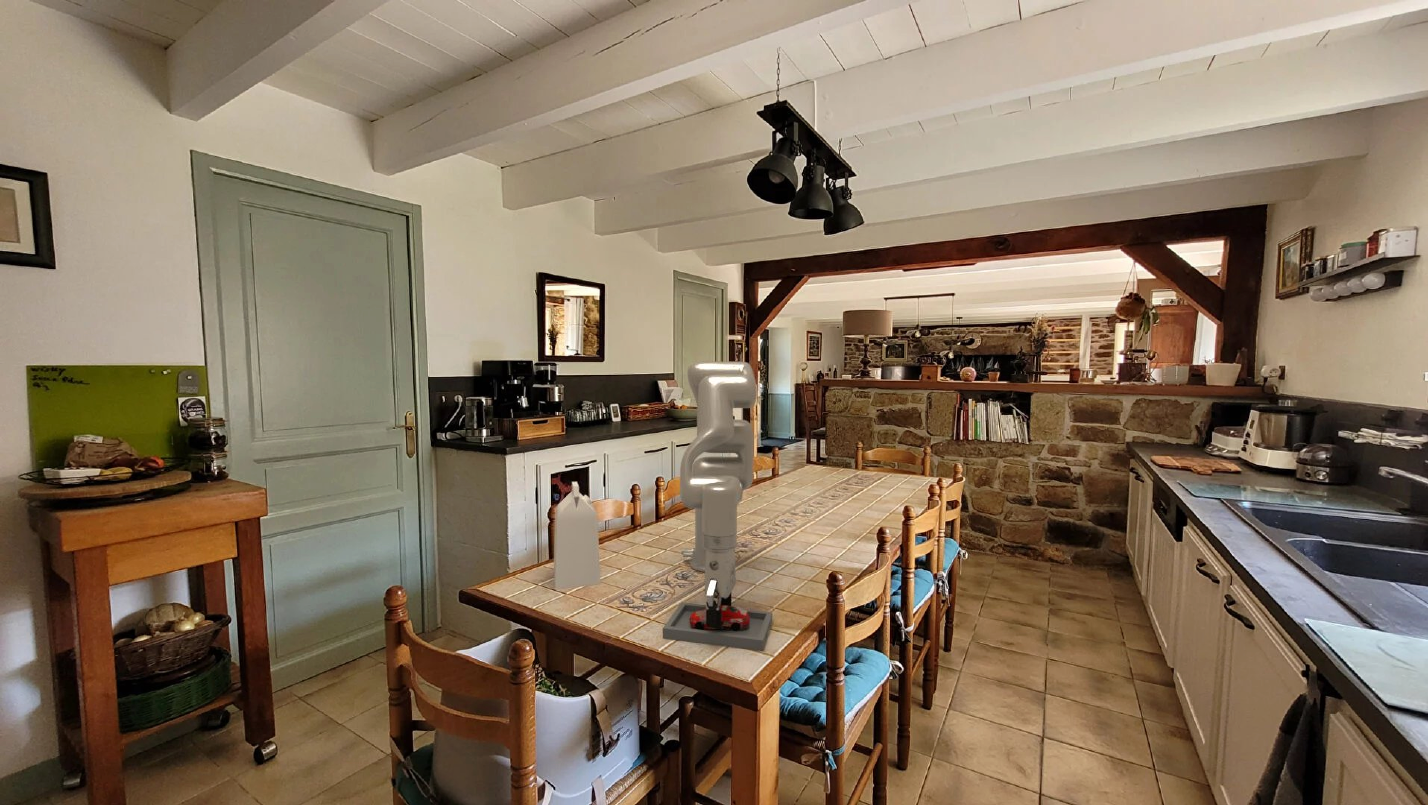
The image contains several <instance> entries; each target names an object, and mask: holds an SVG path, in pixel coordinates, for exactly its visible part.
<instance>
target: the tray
mask: <svg viewBox="0 0 1428 805" xmlns="http://www.w3.org/2000/svg"><path fill="white" fill-rule="evenodd" d="M744 609H745V610H747V612H748V615H749V617H750V623H749V626H748V627H747V628H744V629H741V627H740V629H739V630H738V631H734V630H732V628H731V629H705V626H704V628H703V630H697V629H696V627H695V628H694V627H692V626H691V625H690V622H689V619H690V616H691V614H693V613H694V612H696V611H699V610H706V604H703V603H702V604H701V603H694V602H693V603H691V602H684V601H683V602H682V601H681V603H680V604H679V605H678V607H677V608H676V609H675V611H674V612H673V613H672V615H671V616H670V617H669V619H668V620H667V621H666V623H665V624H664V626H663V627H662V639H665V640H672V641H673V640H674V641H680V642H681V641H683V642H691V643H695V644H696V643H697V644H698V643H699V644H705V645H713V646H723V647H727V648H728V647H729V648H737V649H745V650H752V651H759V652H763V651H764V649H765V646H766V642H767V640H768V636H769V634H770V630H771V627H772V625H773V611H764V610H757V609H746V608H744Z"/></svg>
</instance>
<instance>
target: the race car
mask: <svg viewBox="0 0 1428 805" xmlns="http://www.w3.org/2000/svg"><path fill="white" fill-rule="evenodd" d="M720 609H722V626H721V628H711V627H707V626H706V610H699V611H696V612H694V613H693V614H691V616H690V619H689V622H690V625H691V626H692V627H694V628H695V627H696V629H697V630H703V628H704V626H705V629H731V628H732V630H734V631H738V630H739V629H740V627H741V629H744V628H747V627H748V626H749V623H750V617H749V615H748V612H747V610H745V609H746V608H740V607H738V606H734V605H732V606H727V605H720Z"/></svg>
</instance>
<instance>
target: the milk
mask: <svg viewBox="0 0 1428 805" xmlns="http://www.w3.org/2000/svg"><path fill="white" fill-rule="evenodd" d="M598 519H599V518H598V512H597V509H596V507H595V505H594V504H593V500H592V499H591V498H590V497H589V496H588V495H587V494H584V495H583V494H582V493H581V492H580V486H579V484H578V481H571V492H570V493H568V494H567V495H566V497H564V498H563V499H562V500H561V501H560V502H559V503H558V504H557V505H556V507H555V511H554V542H553V543H554V546H553V548H554V549H553V551H554V552H553V580H554V589H555V591H557V590H564V589H572V588H582V587H590V586H599V585H601V571H600V570H601V568H600V567H601V565H600V564H601V562H600V542H599V521H598Z"/></svg>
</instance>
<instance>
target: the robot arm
mask: <svg viewBox="0 0 1428 805" xmlns="http://www.w3.org/2000/svg"><path fill="white" fill-rule="evenodd" d="M687 379H688V384H689V387H690V389H691V390H690V391H691V393H692V394H693V397H694V399H695V403H696V437H695V438H694V439H693V440H692V441H691V442H690V443H689V445H688V446H687V448H686V449H685V451H684V453H683V456H682V457H681V462H680V469H679V470H680V471H679V472H680V473H679V474H680V475H679V483H680V484H679V494H680V496H679V497H680V501H681V503H682V505H683V506H684V507H685V508H687V509H693V510H694V511H695V512H694V517H695V518H694V524H695V525H694V531H695V532H694V536H695V537H694V538H695V540H694V542H695V543H694V544H695V546H694V547H693V548H686V547H682V549H681V555H682V556H683V558H690V560H689V566H690V568H691V569H694V570H695V571H697V572H701V573H702V572H703V573H704V593H705V596H706V602H705V605H706V626H707V627H711V628H721V626H722V609H720V605H727V606H733V605H732V604H733V603H732V598H733V597H732V592H733V589H734V588H735V585H736V581H737V578H736V576H737V572H736V554H735V552H736V549H737V548H738V544H737V543H738V536H737V535H738V506H739V504H740V502H741V501H742V499H743V494H744V490H747V489H749V488H750V487H751V486H752V484H753V481H754V430H753V427H752V425H751V423H750V422H749V421H748V420H745V419H734V409H750V408H753V407H754V406H755V404H756V402H757V398H758V397H757V393H758V391H757V390H758V389H757V381H756V378H755V375H754V371H753V368H752V366H751V364H749V362H746V361H719V360H717V361H715V360H711V361H710V360H707V361H706V360H705V361H697V362H693V363H691V364H690V365H689V366H688V368H687ZM704 453H707V454H736V455H737V456H704V457H699V456H700V455H702V454H704ZM698 457H699V458H698ZM715 599H717V600H715Z"/></svg>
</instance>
